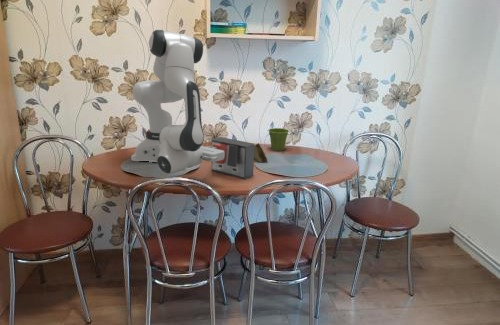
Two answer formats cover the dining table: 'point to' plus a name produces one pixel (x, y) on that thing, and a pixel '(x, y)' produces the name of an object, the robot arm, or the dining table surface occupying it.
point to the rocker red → (219, 149)
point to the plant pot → (278, 138)
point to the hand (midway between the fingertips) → (213, 148)
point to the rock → (259, 154)
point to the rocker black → (232, 155)
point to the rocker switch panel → (243, 158)
